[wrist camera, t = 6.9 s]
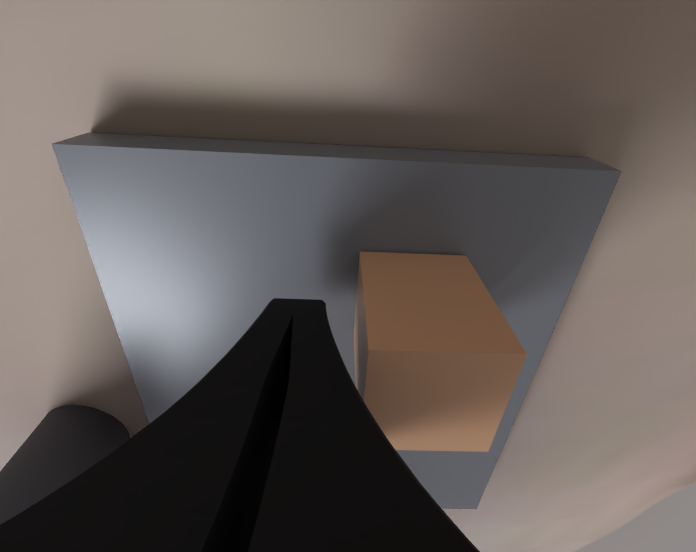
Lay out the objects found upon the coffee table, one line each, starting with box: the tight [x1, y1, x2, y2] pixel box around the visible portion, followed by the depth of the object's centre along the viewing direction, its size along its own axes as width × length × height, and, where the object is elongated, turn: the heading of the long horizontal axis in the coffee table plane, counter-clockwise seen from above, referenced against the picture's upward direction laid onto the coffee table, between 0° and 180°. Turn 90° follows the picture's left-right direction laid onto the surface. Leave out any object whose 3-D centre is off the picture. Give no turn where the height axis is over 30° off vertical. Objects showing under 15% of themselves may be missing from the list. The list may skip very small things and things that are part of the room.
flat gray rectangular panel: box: [52, 133, 621, 509], centre depth 14 cm, size 16×14×2 cm
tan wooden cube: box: [354, 251, 527, 452], centre depth 9 cm, size 3×3×4 cm
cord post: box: [0, 406, 129, 525], centre depth 13 cm, size 4×4×8 cm
